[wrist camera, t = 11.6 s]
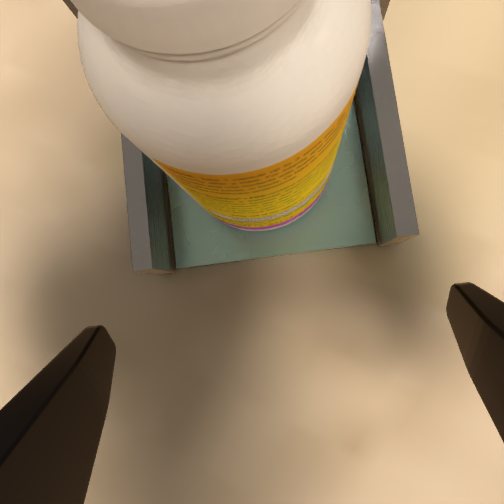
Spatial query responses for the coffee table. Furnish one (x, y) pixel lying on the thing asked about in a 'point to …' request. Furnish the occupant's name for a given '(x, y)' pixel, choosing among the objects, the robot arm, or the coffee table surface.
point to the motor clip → (313, 221)
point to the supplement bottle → (230, 94)
